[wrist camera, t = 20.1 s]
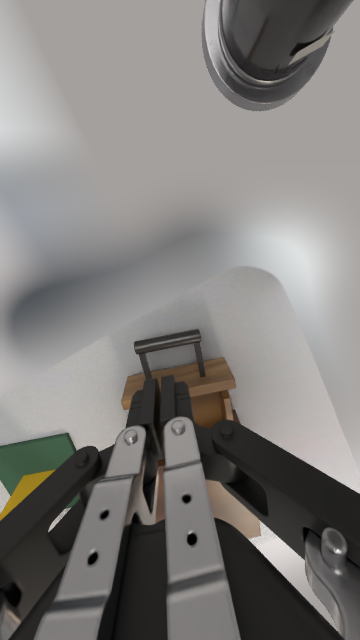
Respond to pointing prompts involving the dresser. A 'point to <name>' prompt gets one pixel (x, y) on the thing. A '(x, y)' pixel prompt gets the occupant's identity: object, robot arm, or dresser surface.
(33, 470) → the mat
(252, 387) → the dresser surface
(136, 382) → the drawer
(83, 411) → the dresser surface
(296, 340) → the dresser surface
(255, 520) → the cabinet
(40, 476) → the sponge
